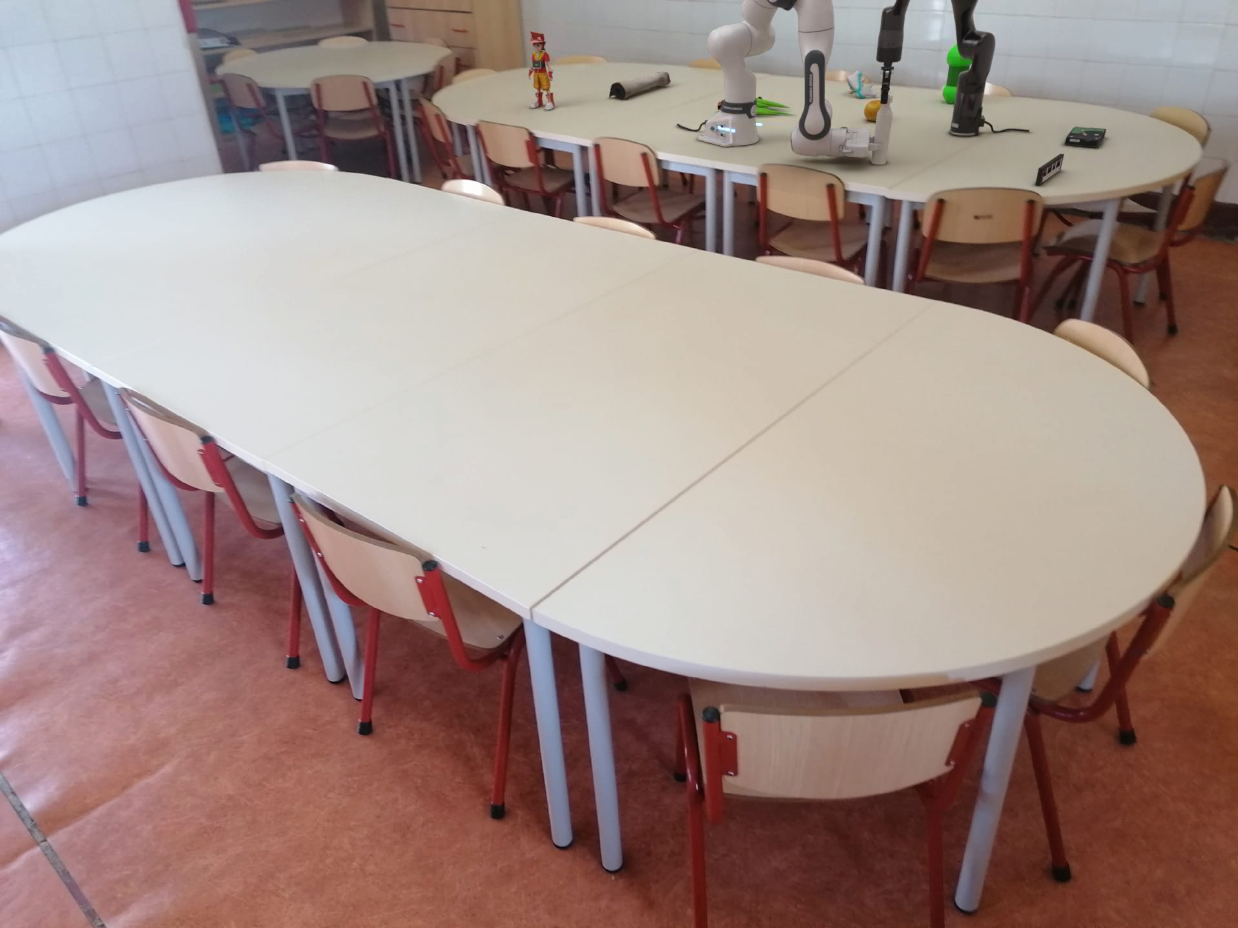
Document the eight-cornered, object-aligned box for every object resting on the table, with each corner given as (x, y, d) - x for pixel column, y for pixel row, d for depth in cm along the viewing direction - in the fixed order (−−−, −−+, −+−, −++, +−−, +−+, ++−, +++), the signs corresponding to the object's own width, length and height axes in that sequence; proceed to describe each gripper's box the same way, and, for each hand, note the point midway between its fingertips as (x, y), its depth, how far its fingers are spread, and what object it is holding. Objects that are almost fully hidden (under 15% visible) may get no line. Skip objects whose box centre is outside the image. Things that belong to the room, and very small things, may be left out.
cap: (891, 104, 283) (892, 98, 282) (879, 103, 284) (880, 97, 283) (892, 101, 286) (893, 95, 285) (881, 100, 287) (881, 94, 286)
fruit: (858, 112, 335) (872, 93, 332) (861, 115, 343) (874, 96, 340) (877, 125, 334) (891, 105, 331) (879, 128, 342) (892, 108, 339)
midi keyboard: (1039, 185, 269) (1043, 168, 266) (1035, 184, 270) (1038, 168, 267) (1060, 170, 279) (1064, 154, 277) (1056, 169, 280) (1060, 153, 277)
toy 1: (525, 109, 381) (517, 32, 364) (534, 104, 388) (527, 28, 371) (550, 110, 377) (543, 32, 360) (559, 105, 384) (553, 28, 367)
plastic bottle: (973, 101, 354) (984, 32, 339) (955, 106, 349) (966, 36, 335) (952, 97, 361) (962, 29, 346) (934, 102, 356) (944, 33, 342)
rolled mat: (651, 76, 408) (662, 61, 399) (662, 93, 408) (674, 79, 400) (605, 92, 391) (616, 77, 383) (617, 110, 391) (628, 95, 383)
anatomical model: (842, 70, 374) (865, 63, 373) (844, 95, 380) (867, 89, 379) (852, 77, 361) (877, 71, 360) (855, 104, 367) (879, 97, 366)
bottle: (888, 164, 294) (896, 100, 283) (873, 165, 294) (881, 101, 283) (883, 160, 298) (891, 96, 287) (869, 161, 298) (876, 97, 287)
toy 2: (708, 113, 354) (778, 126, 342) (709, 100, 352) (780, 111, 339) (738, 103, 375) (805, 114, 362) (739, 90, 372) (807, 101, 359)
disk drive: (1097, 149, 296) (1104, 136, 306) (1099, 140, 294) (1106, 128, 304) (1064, 145, 301) (1072, 133, 311) (1065, 137, 299) (1074, 125, 309)
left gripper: (839, 142, 286) (884, 142, 282) (842, 125, 302) (885, 125, 299) (837, 162, 289) (882, 162, 286) (841, 144, 305) (883, 145, 302)
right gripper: (902, 49, 270) (895, 107, 279) (902, 40, 281) (896, 96, 290) (877, 49, 271) (871, 107, 281) (878, 40, 283) (872, 96, 292)
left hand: (883, 143), depth 292 cm, fingers closed on bottle, 5 cm apart
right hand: (883, 101), depth 286 cm, fingers open, 6 cm apart
